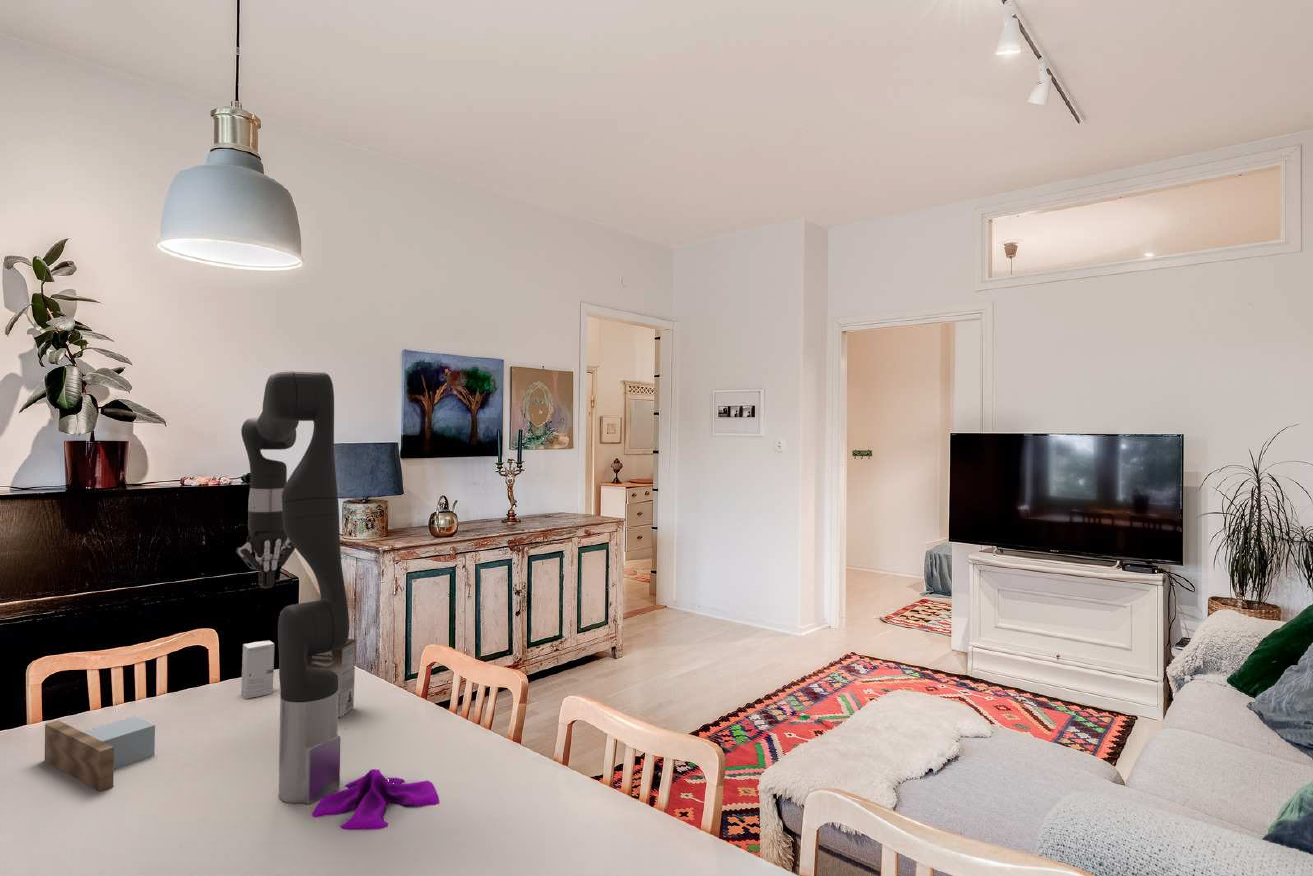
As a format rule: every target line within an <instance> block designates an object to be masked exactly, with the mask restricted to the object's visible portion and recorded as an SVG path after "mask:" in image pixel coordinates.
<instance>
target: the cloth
mask: <svg viewBox="0 0 1313 876" xmlns="http://www.w3.org/2000/svg"><path fill="white" fill-rule="evenodd" d="M386 778H388V779H389V782H388V780H387V779H386ZM405 782H406V781H405V780H404V779H403V778H400V777H385V776H384V775H383V774H382V773H381V771H380V769H376V768H371V769H370V770H369V771H367V773H366V774H365V775H364V776H360V777H359V778H357V779H355V780H353V781H350V782H348V783H346V784H345V785H344V789H343V790H338V791H335V792H332V793H330V794H328V795H326V796H324V797H322V798H320V799H319V801H318V803H317V804H316V807H315V808H314V810H313V811H312V812H311V813H312V814H311V817H312V818H315V819H316V818H321V817H325V816H336V815H343V814H348V813H351V812H352V811H354V810H355V811H354V813H353V815H352V816H351V817H350V818H349V819H348V820H347V821H346V822H345V823H343V824H341V825H340V829H341V830H347V831H353V830H356V831H358V830H363V831H366V830H374V829H375V830H383V829H385V828H388V827H389V826H388V824H389V823H388V822H386V820H385V819H384V818H385V814H384V813H386V809H387V806H388V805H390V804H391V805H399V806H400V807H403V806H404V807H409V806H413V807H417V808H418V807H419V806H420V807H425V806H427V807H428V806H436V804H437V805H439V804H440V800H439V795H438V793H437V789H436V787H435V785H434V783H433V782H431V781H430V780H423V781H417V782H416V781H415V782H410V783H405ZM393 783H394V784H393ZM402 783H403V784H402ZM346 787H347V788H346ZM345 788H346V789H345ZM389 803H390V804H389ZM383 816H384V817H383ZM384 820H385V821H384Z"/></svg>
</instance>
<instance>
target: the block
mask: <svg viewBox="0 0 1313 876" xmlns="http://www.w3.org/2000/svg"><path fill="white" fill-rule="evenodd" d="M82 732H84V733H86V734H88V735H90V736H92V737H94V738H96V739H98V740H100V741H102V742H104V743H106V744H109V745H111V746H113V747H114V770H115V769H118V768H121V767H124V766H127V765H130V764H132V763H136V762H138V761H141V760H144V759H147V758H150V757H153V756H155V748H156V741H155V740H156V733H155V732H156V724H154V723H151V722H149V721H147V720H144V719H142V718H139V717H137V716H135V715H134V716H131V717H128V718H125V719H120V720H117V721H114V722H111V723H107V724H104V725H100V726H97V727H96V726H95V727H93V728H89V729H87V730H84V731H82ZM152 755H153V756H152ZM123 765H124V766H123ZM120 766H121V767H120Z"/></svg>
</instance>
